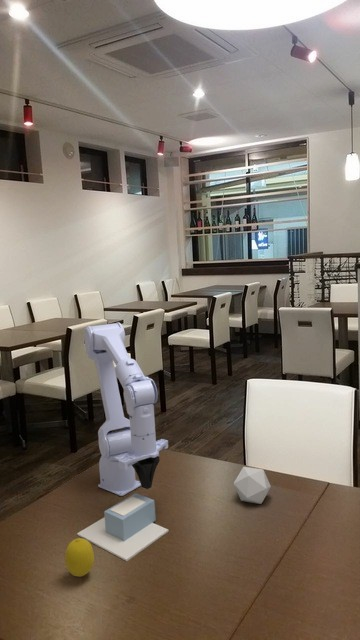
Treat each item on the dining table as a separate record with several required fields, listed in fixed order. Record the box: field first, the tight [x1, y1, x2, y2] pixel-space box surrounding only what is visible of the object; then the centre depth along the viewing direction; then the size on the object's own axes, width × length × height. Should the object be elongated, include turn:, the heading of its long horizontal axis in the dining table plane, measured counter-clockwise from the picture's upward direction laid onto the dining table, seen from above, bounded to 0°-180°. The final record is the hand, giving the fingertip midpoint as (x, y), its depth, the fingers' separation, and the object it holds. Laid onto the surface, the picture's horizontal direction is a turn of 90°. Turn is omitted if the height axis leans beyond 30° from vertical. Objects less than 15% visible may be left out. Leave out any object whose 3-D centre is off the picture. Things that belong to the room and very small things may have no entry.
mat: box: [76, 516, 170, 562], centre depth 110 cm, size 16×13×1 cm
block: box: [103, 493, 157, 541], centre depth 112 cm, size 6×5×10 cm
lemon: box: [64, 537, 95, 578], centre depth 96 cm, size 6×6×8 cm
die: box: [233, 466, 272, 505], centre depth 121 cm, size 8×9×10 cm
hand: (146, 486), depth 115 cm, fingers closed
